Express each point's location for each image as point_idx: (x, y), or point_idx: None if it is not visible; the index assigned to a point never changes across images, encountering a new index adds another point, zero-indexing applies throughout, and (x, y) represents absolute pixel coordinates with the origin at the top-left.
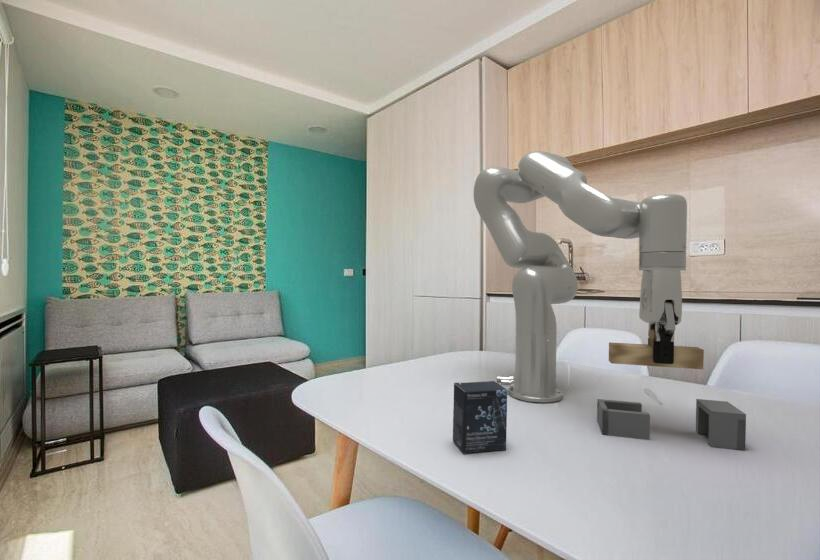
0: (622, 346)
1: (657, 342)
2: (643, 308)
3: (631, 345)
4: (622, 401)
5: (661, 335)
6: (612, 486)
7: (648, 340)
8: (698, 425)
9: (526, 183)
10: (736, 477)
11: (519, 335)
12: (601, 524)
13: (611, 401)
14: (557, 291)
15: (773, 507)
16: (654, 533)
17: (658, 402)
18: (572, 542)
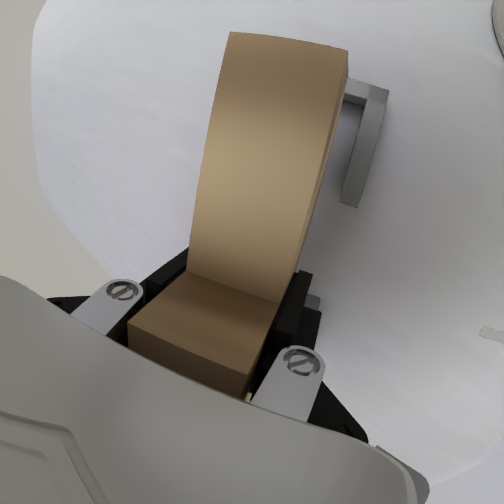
0: (218, 97)
1: (150, 292)
2: (74, 476)
3: (224, 161)
4: (368, 157)
5: (79, 302)
6: (99, 50)
7: (287, 321)
8: (305, 303)
9: None
10: (137, 228)
11: None
12: (52, 38)
13: (365, 121)
14: None
15: (85, 217)
16: (44, 78)
17: (488, 331)
18: (40, 19)
